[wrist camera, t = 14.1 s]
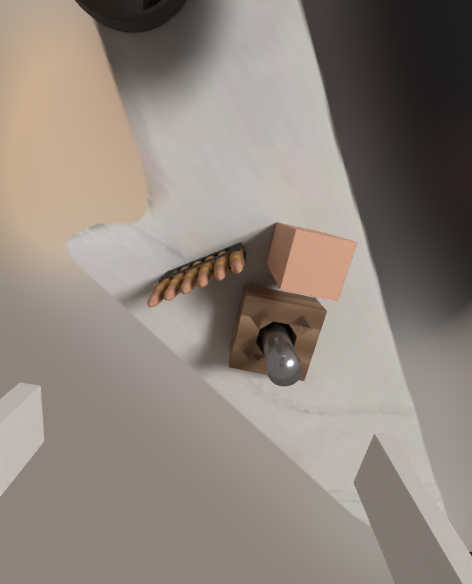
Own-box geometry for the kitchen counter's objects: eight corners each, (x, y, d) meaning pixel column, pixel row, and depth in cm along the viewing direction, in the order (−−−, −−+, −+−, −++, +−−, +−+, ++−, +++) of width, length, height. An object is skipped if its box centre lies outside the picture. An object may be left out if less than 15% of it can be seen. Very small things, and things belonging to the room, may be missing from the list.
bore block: (244, 283, 37) (245, 294, 33) (315, 298, 38) (327, 311, 33) (230, 348, 40) (229, 367, 35) (296, 360, 41) (304, 381, 36)
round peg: (261, 310, 39) (272, 353, 27) (285, 315, 39) (305, 360, 27) (256, 332, 40) (264, 383, 28) (279, 336, 40) (296, 388, 28)
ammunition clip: (172, 284, 37) (144, 317, 26) (166, 271, 37) (135, 300, 26) (246, 255, 36) (250, 277, 25) (240, 242, 36) (243, 258, 24)
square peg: (276, 222, 35) (296, 229, 24) (318, 231, 35) (357, 242, 24) (266, 263, 37) (280, 289, 25) (306, 272, 37) (337, 301, 25)
